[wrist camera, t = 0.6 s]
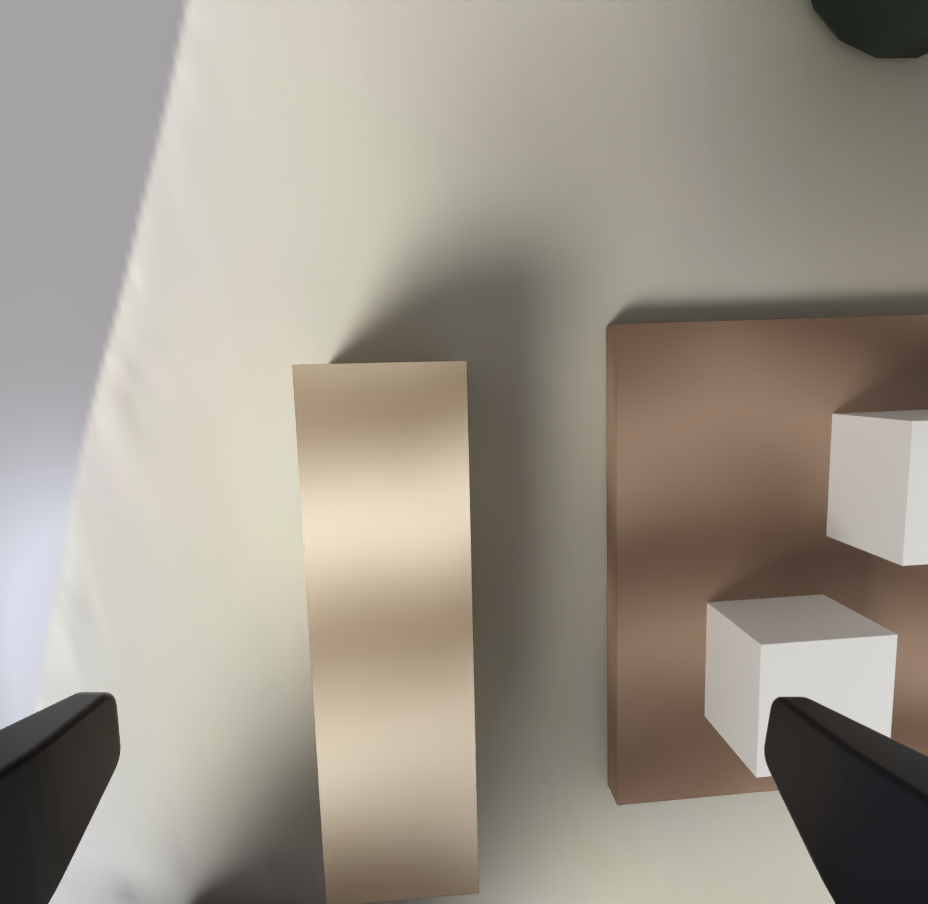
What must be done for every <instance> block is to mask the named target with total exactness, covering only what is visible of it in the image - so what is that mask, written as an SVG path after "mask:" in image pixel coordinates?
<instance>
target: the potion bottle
mask: <svg viewBox="0 0 928 904" xmlns="http://www.w3.org/2000/svg"><path fill="white" fill-rule="evenodd" d="M811 2H812V5H813V8H814V10H815V12H816V13H817V14H818V15H819V16H820V18H821V19H822V20H823V21H824V22H825V24H826V25H827V26H828V27H829V28H830V30H831V31H832V32H833V33H834V34H835V36H836V37H837V38H838V39H839V40H841V41H843V42H845V43H847V44H849V45H851V46H853V47H855V48H857V49H860V50H862V51H864V52H866V53H868V54H870V55H872V56H874V57H876V58H918V57H920V56H922V55H924V54H926V53H928V0H811Z"/></svg>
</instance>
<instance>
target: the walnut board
mask: <svg viewBox="0 0 928 904" xmlns="http://www.w3.org/2000/svg"><path fill="white" fill-rule="evenodd" d="M606 355H607V703H608V786H609V788H610V790H611V793H612V795H613V797H614V799H615V801H616V803H617V805H625V804H635V803H646V802H656V801H667V800H678V799H688V798H699V797H709V796H720V795H730V794H741V793H752V792H762V791H773V790H778V788H777V786H776V784H775V782H774V780H773V778H772V776H769V777H758V778H756V777H755V775H754V774H753V773H752V772H751V771H750V770H749V768H748V767H747V766H746V765H745V764H744V762H743V761H742V760H741V759H740V758H739V756H738V755H737V754H736V753H735V752H734V750H733V749H732V748H731V747H730V746H729V745H728V743H727V742H726V741H725V740H724V739H723V737H722V736H721V735H720V734H719V733H718V731H717V730H716V729H715V728H714V727H713V726H712V724H711V723H710V722H709V721H708V720H707V718H706V717H705V716H704V715H705V669H706V623H707V602H719V601H734V600H748V599H763V598H778V597H792V596H807V595H821V594H824V595H825V596H827V597H829V598H831V599H833V600H835V601H836V602H838V603H840V604H842V605H844V606H846V607H848V608H849V609H851V610H853V611H855V612H857V613H859V614H860V615H862V616H864V617H866V618H868V619H870V620H872V621H873V622H875V623H877V624H879V625H881V626H883V627H885V628H886V629H888V630H890V631H892V632H894V633H896V634H897V635H898V638H897V652H896V666H895V681H894V695H893V710H892V724H891V739H893V740H895V741H897V742H899V743H902V744H904V745H906V746H908V747H910V748H912V749H914V750H916V751H918V752H920V753H922V754H924V755H926V756H928V564H924V565H909V566H901V565H899V564H896V563H894V562H891V561H889V560H886V559H884V558H881V557H879V556H876V555H873V554H871V553H868V552H866V551H863V550H861V549H858V548H856V547H853V546H851V545H848V544H846V543H843V542H841V541H838V540H835V539H833V538H830V537H828V536H826V530H827V510H828V491H829V471H830V451H831V431H832V414H836V413H859V412H882V411H904V410H927V409H928V314H923V315H891V316H859V317H827V318H795V319H763V320H730V321H698V322H666V323H634V324H615V325H611V326H607V327H606Z"/></svg>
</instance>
